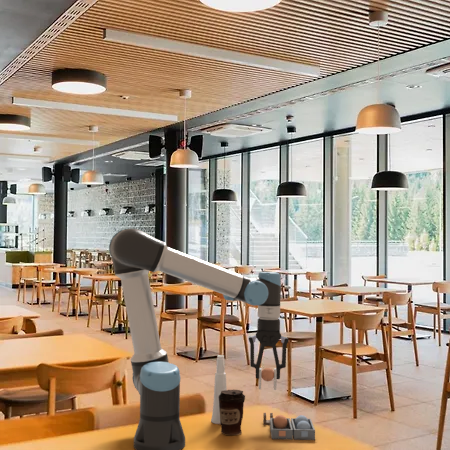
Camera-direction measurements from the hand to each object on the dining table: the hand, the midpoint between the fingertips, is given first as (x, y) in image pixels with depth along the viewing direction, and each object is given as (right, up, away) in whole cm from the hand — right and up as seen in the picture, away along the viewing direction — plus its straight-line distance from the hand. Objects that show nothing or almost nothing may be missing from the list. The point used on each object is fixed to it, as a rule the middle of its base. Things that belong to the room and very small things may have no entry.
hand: (267, 388), depth 204 cm
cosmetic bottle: (-16, -12, +1) cm, 20 cm away
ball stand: (0, -11, 0) cm, 11 cm away
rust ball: (+4, -9, -8) cm, 12 cm away
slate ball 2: (+10, -9, -14) cm, 19 cm away
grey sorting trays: (+7, -11, -11) cm, 17 cm away
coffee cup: (-12, -11, -11) cm, 20 cm away
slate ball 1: (+10, -9, -8) cm, 16 cm away
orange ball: (0, +5, 0) cm, 5 cm away
